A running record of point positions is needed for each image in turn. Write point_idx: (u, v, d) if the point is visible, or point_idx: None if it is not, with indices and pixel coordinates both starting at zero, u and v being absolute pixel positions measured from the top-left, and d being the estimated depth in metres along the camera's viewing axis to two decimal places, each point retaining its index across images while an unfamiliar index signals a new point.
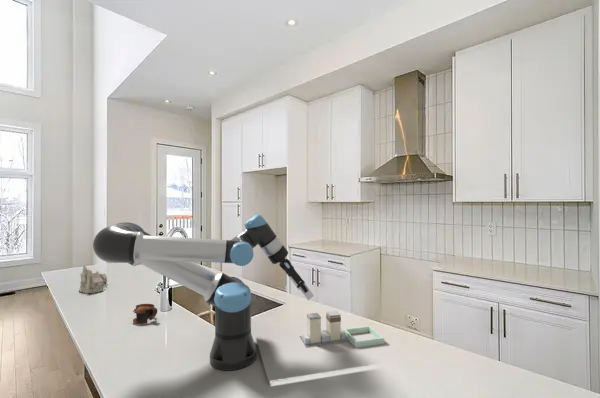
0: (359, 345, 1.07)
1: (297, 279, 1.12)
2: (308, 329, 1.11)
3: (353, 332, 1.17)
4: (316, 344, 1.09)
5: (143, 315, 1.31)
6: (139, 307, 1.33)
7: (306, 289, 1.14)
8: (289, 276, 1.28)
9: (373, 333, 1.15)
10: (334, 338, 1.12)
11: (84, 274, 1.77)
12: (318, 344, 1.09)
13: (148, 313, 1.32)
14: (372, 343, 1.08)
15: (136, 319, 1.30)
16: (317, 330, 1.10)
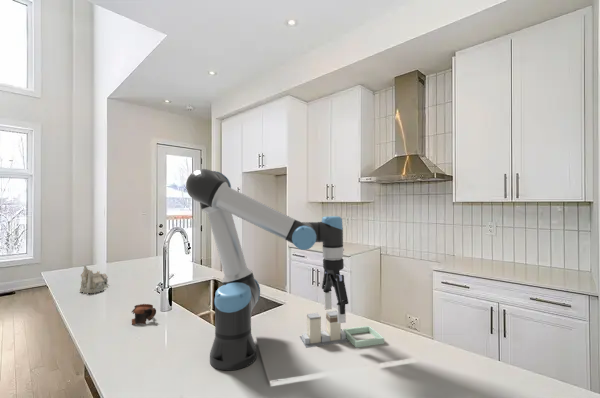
0: (359, 345, 1.07)
1: (343, 296, 1.05)
2: (308, 329, 1.11)
3: (353, 332, 1.17)
4: (316, 344, 1.09)
5: (142, 315, 1.31)
6: (138, 307, 1.33)
7: (344, 311, 1.06)
8: (324, 291, 1.21)
9: (373, 333, 1.15)
10: (334, 338, 1.12)
11: (85, 274, 1.77)
12: (318, 344, 1.09)
13: (147, 313, 1.32)
14: (372, 343, 1.08)
15: (135, 319, 1.30)
16: (317, 330, 1.10)
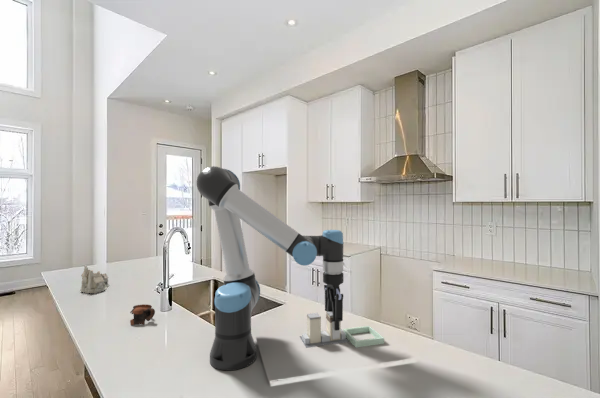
0: (359, 345, 1.07)
1: (338, 314, 1.08)
2: (308, 329, 1.11)
3: (353, 332, 1.17)
4: (316, 344, 1.09)
5: (141, 316, 1.30)
6: (136, 308, 1.32)
7: (338, 327, 1.10)
8: None
9: (373, 333, 1.15)
10: None
11: (85, 274, 1.77)
12: (318, 344, 1.09)
13: (145, 314, 1.31)
14: (372, 343, 1.08)
15: (133, 320, 1.29)
16: (317, 330, 1.10)
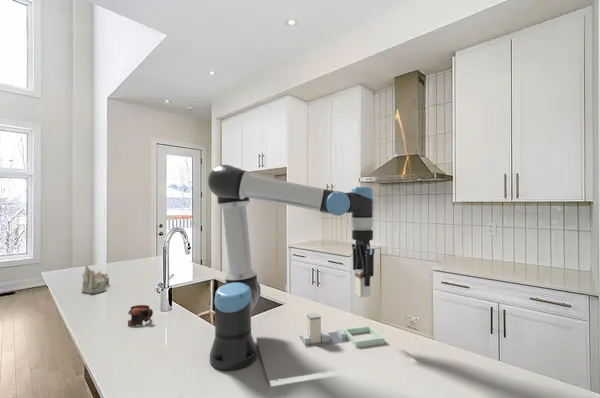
0: (359, 345, 1.07)
1: (369, 269, 1.08)
2: (308, 329, 1.11)
3: (353, 332, 1.17)
4: (316, 344, 1.09)
5: (138, 316, 1.29)
6: (134, 308, 1.31)
7: (368, 283, 1.09)
8: None
9: (373, 333, 1.15)
10: (364, 295, 1.11)
11: (86, 274, 1.77)
12: (318, 344, 1.09)
13: (143, 314, 1.31)
14: (372, 343, 1.08)
15: (131, 321, 1.28)
16: (317, 330, 1.10)
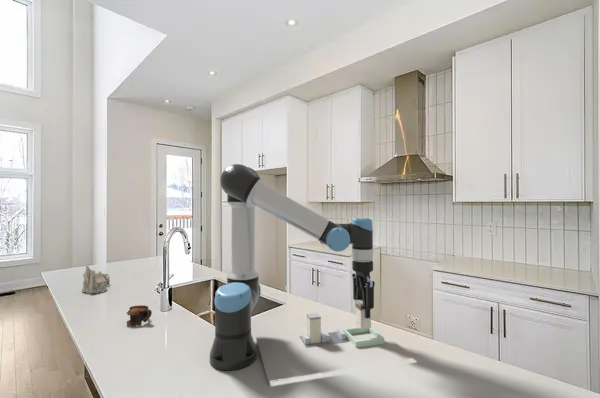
0: (359, 345, 1.07)
1: (370, 302, 1.08)
2: (308, 329, 1.11)
3: (353, 332, 1.17)
4: (316, 344, 1.09)
5: (137, 317, 1.29)
6: (133, 309, 1.31)
7: (369, 315, 1.10)
8: None
9: (373, 333, 1.15)
10: None
11: (87, 274, 1.77)
12: (318, 344, 1.09)
13: (142, 315, 1.30)
14: (372, 343, 1.08)
15: (130, 321, 1.28)
16: (317, 330, 1.10)
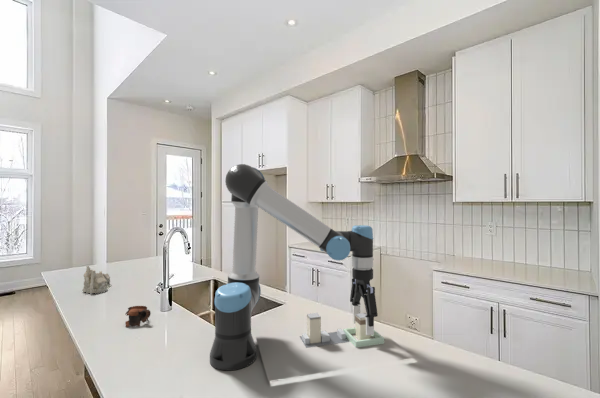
0: (359, 345, 1.07)
1: (373, 309, 1.05)
2: (308, 329, 1.11)
3: (353, 332, 1.17)
4: (316, 344, 1.09)
5: (136, 317, 1.29)
6: (132, 309, 1.30)
7: (372, 323, 1.07)
8: (353, 304, 1.18)
9: None
10: None
11: (88, 274, 1.77)
12: (318, 344, 1.09)
13: (141, 315, 1.30)
14: (372, 343, 1.08)
15: (129, 322, 1.28)
16: (317, 330, 1.10)
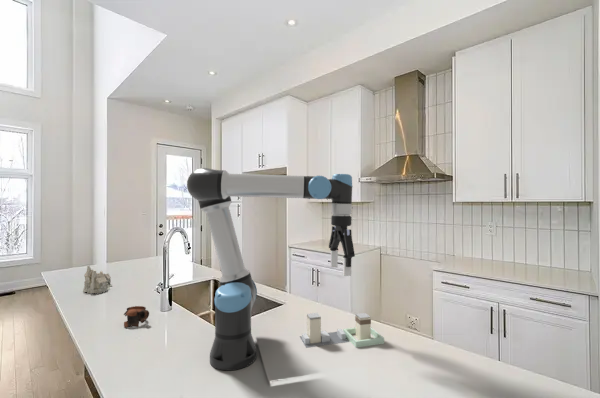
0: (359, 345, 1.07)
1: (350, 249, 1.08)
2: (308, 329, 1.11)
3: (353, 332, 1.17)
4: (316, 344, 1.09)
5: (135, 318, 1.28)
6: (130, 310, 1.30)
7: (350, 264, 1.09)
8: (331, 249, 1.23)
9: (373, 333, 1.15)
10: None
11: (88, 274, 1.77)
12: (318, 344, 1.09)
13: (139, 316, 1.29)
14: (372, 343, 1.08)
15: (127, 322, 1.27)
16: (317, 330, 1.10)
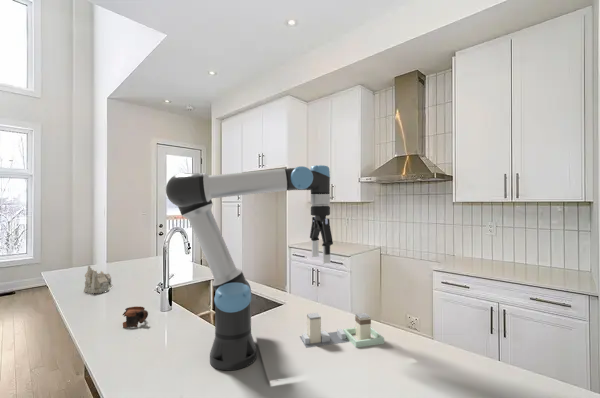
0: (359, 345, 1.07)
1: (328, 237, 1.12)
2: (308, 329, 1.11)
3: (353, 332, 1.17)
4: (316, 344, 1.09)
5: (133, 318, 1.28)
6: (129, 310, 1.29)
7: (328, 252, 1.13)
8: (312, 239, 1.27)
9: (373, 333, 1.15)
10: None
11: (89, 274, 1.77)
12: (318, 344, 1.09)
13: (138, 316, 1.29)
14: (372, 343, 1.08)
15: (126, 322, 1.27)
16: (317, 330, 1.10)
